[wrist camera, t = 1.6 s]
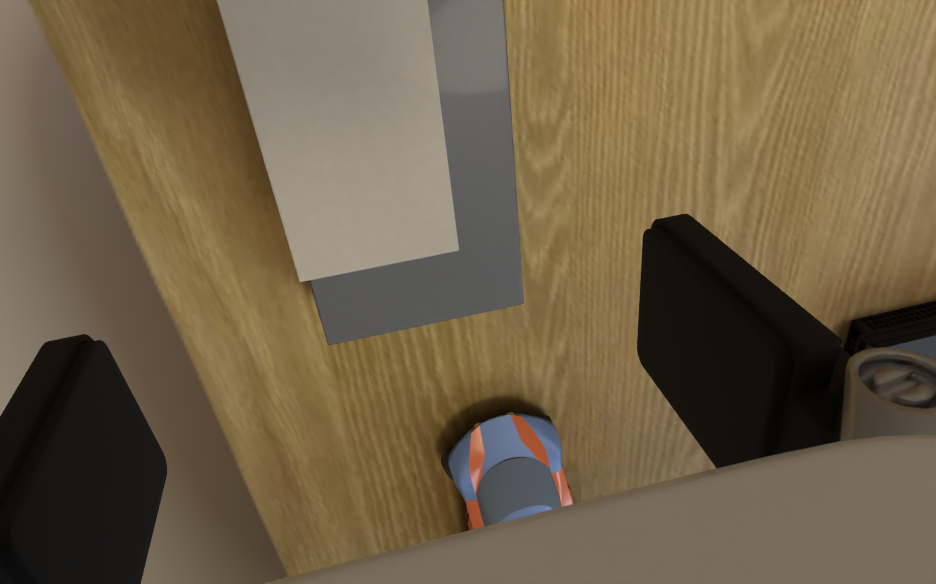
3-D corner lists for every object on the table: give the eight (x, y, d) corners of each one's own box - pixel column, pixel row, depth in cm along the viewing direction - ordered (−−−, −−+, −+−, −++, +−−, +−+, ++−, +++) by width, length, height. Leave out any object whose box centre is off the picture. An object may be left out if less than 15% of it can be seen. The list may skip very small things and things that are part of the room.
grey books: (233, -14, 25) (221, 1, 22) (476, -48, 26) (504, -39, 23) (319, 298, 33) (321, 347, 30) (502, 261, 35) (526, 303, 31)
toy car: (548, 380, 40) (579, 440, 36) (577, 522, 48) (604, 585, 44) (426, 420, 39) (441, 486, 35) (476, 556, 48) (494, 624, 43)
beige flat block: (208, -67, 20) (197, -63, 18) (405, -92, 21) (416, -91, 19) (299, 254, 27) (299, 282, 25) (448, 226, 28) (459, 251, 26)
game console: (842, 322, 43) (877, 349, 40) (1113, 258, 46) (1162, 280, 43) (769, 591, 60) (790, 623, 58) (969, 533, 63) (997, 561, 61)
